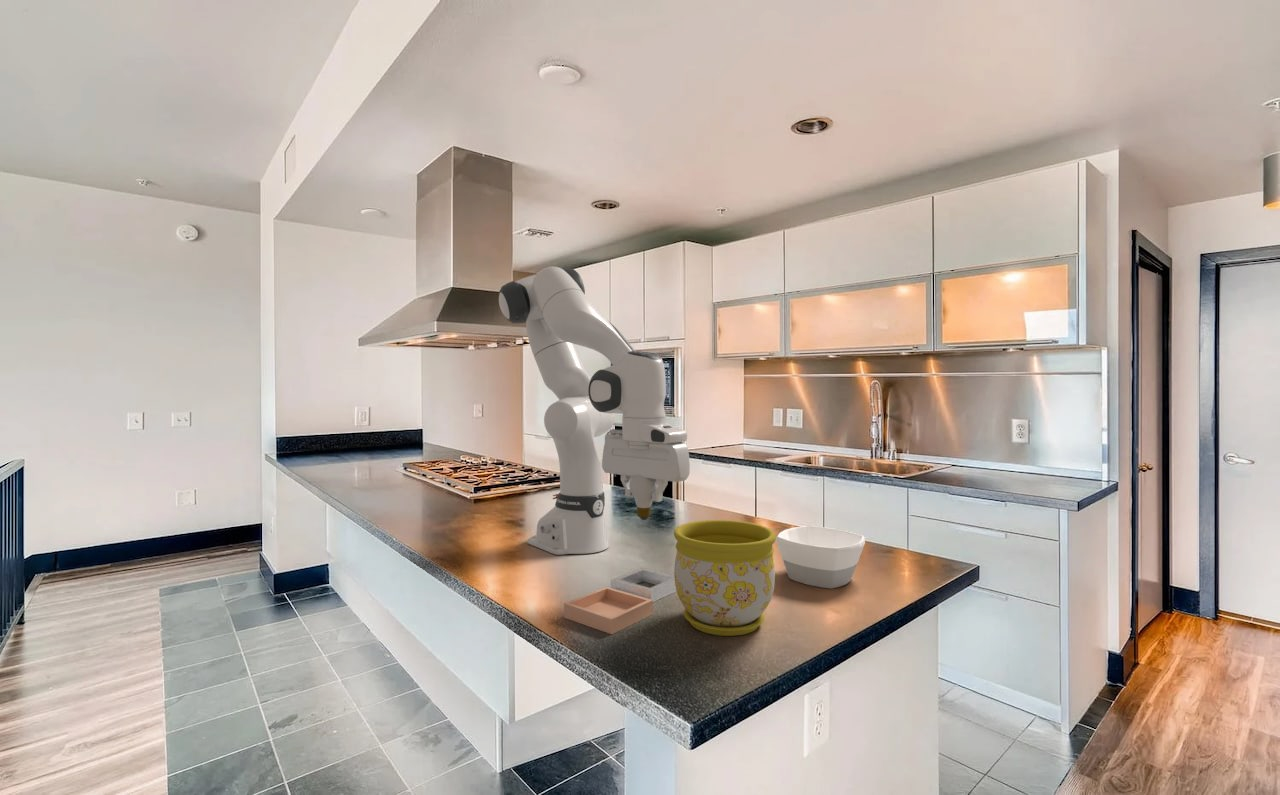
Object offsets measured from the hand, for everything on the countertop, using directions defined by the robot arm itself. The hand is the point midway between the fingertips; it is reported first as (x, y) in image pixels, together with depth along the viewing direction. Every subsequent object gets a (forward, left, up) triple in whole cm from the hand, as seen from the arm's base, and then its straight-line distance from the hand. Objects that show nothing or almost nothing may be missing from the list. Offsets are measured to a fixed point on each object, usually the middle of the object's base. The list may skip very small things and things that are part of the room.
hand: (643, 499), depth 123 cm
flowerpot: (+21, -3, -19) cm, 28 cm away
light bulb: (0, 0, -4) cm, 4 cm away
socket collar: (0, +1, -19) cm, 19 cm away
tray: (+3, -14, -19) cm, 24 cm away
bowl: (+25, +31, -19) cm, 44 cm away
